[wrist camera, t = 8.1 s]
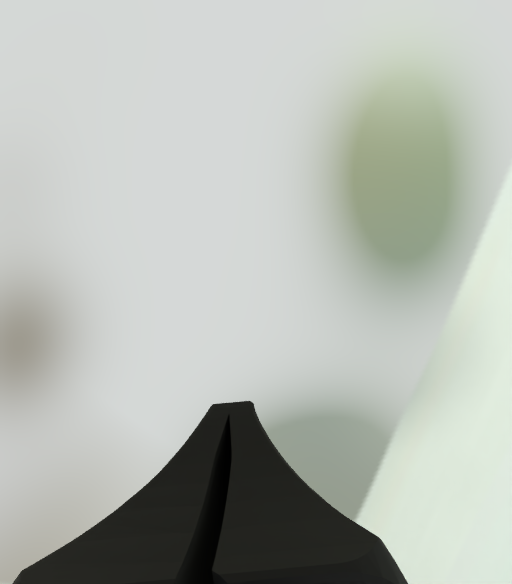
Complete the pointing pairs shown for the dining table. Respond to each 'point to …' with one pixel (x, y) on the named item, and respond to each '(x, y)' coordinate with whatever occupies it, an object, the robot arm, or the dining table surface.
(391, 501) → the dining table surface
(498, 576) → the dining table surface
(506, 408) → the dining table surface
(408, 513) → the dining table surface
